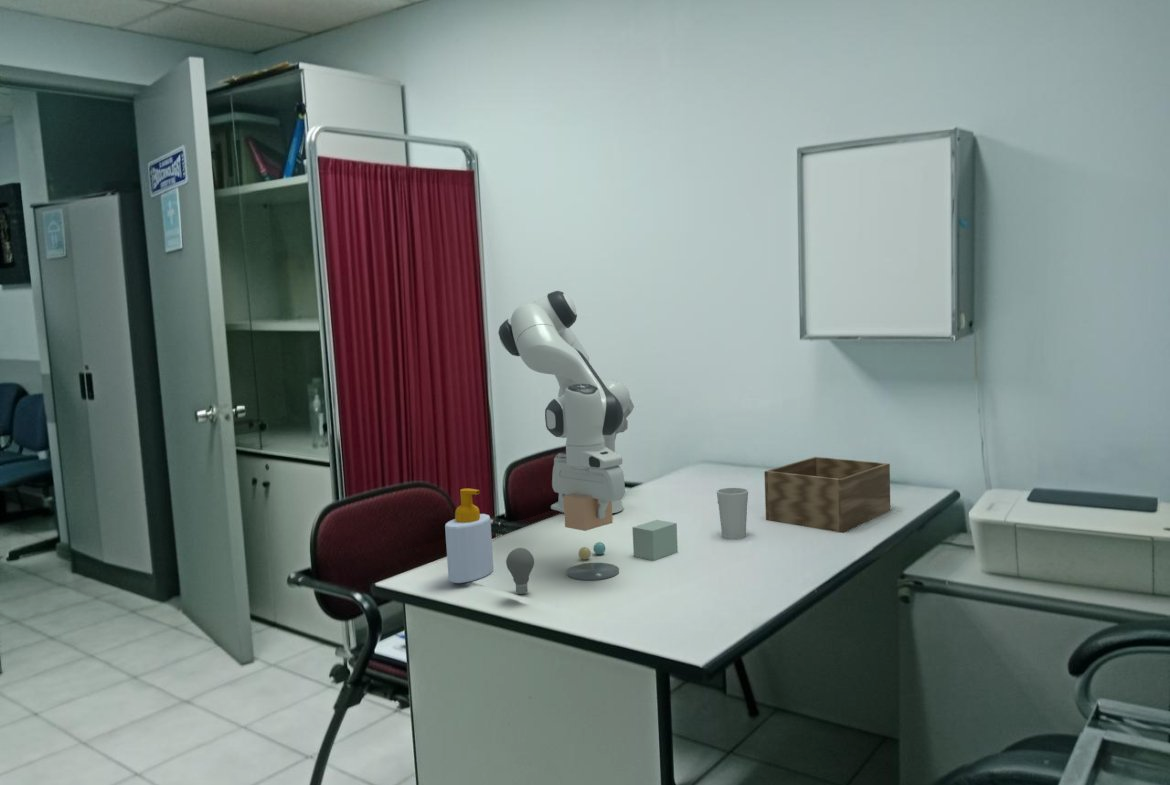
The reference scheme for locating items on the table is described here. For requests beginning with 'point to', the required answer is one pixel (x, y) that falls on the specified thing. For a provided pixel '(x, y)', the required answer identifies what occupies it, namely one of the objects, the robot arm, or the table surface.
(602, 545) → the marble
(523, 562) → the light bulb
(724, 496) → the cup
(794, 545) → the table surface
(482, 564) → the soap bottle
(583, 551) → the marble
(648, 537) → the pale green upright block
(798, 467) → the walnut planter box
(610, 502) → the peach smooth rectangular block
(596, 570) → the slate coaster
